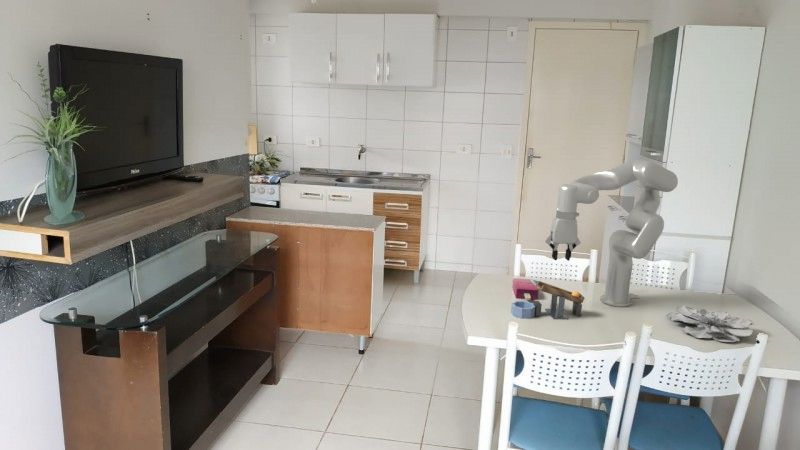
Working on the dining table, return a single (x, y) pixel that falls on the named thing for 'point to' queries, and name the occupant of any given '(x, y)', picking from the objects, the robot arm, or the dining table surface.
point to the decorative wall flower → (712, 324)
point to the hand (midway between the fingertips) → (561, 259)
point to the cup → (523, 309)
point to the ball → (576, 294)
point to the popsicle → (524, 289)
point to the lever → (557, 291)
